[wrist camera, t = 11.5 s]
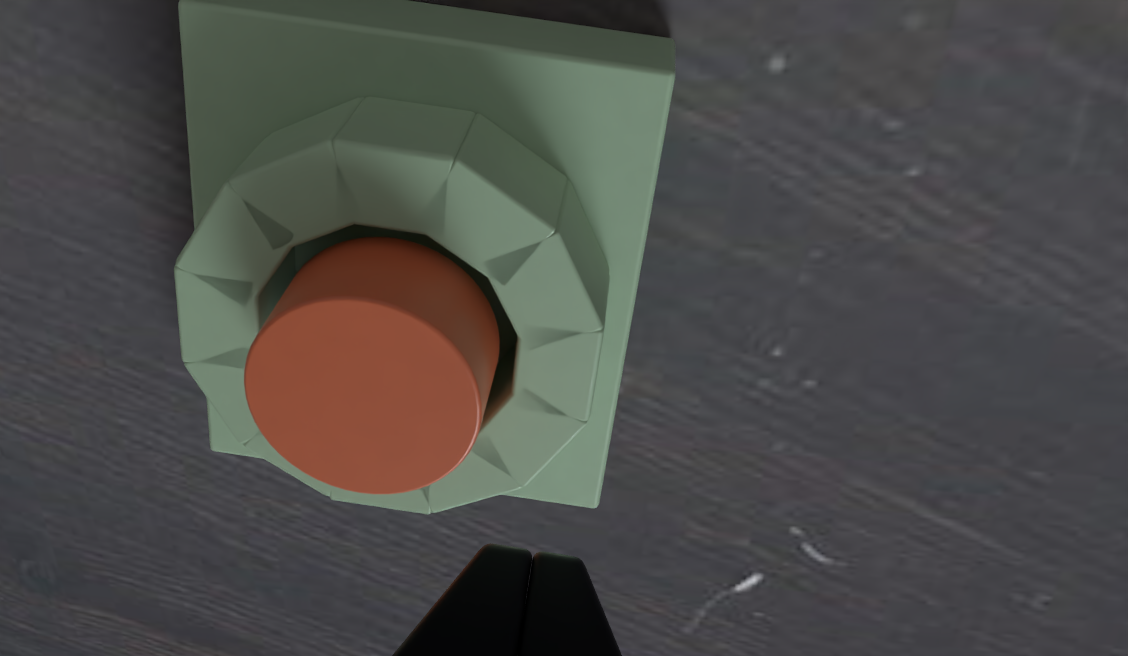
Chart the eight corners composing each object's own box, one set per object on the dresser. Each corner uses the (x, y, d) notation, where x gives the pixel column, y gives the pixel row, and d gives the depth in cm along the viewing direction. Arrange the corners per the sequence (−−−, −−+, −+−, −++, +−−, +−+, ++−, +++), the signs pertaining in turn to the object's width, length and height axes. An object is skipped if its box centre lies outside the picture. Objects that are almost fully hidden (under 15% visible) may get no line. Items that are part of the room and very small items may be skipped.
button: (285, 405, 16) (246, 477, 15) (280, 218, 15) (237, 278, 13) (491, 436, 16) (472, 512, 15) (510, 253, 15) (490, 317, 13)
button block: (241, 397, 20) (167, 520, 17) (219, -29, 16) (116, 35, 13) (603, 452, 20) (591, 584, 17) (675, 37, 16) (676, 117, 13)
